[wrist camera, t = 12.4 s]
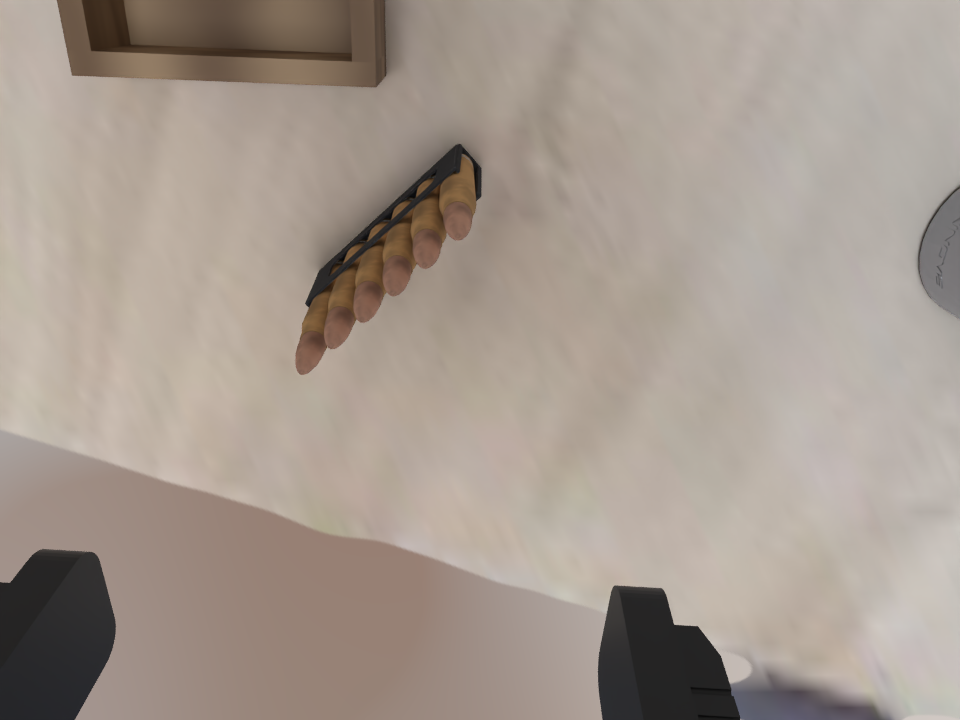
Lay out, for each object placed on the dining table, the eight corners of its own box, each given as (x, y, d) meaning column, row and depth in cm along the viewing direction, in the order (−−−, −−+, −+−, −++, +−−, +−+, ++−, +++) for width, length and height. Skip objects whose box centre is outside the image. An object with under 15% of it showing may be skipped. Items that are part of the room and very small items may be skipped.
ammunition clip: (459, 142, 38) (459, 202, 27) (482, 169, 38) (492, 237, 28) (318, 271, 41) (268, 371, 30) (342, 294, 41) (302, 400, 31)
